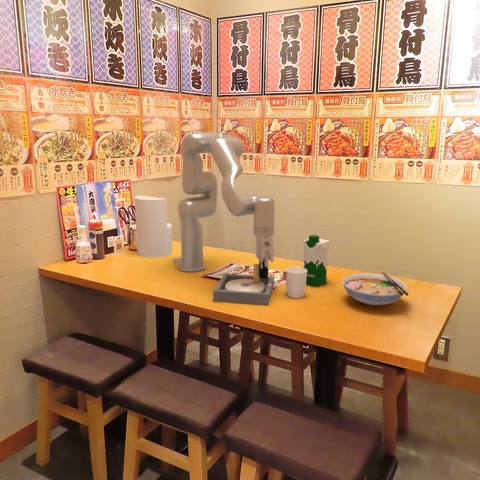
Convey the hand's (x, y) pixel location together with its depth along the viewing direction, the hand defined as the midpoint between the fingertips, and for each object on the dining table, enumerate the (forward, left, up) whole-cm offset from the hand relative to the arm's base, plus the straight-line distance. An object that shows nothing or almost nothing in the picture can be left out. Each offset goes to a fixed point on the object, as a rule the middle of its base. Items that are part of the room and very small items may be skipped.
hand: (263, 278), depth 172 cm
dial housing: (-7, -2, -6) cm, 9 cm away
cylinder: (-60, +46, -6) cm, 76 cm away
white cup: (+12, 0, -6) cm, 14 cm away
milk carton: (+19, +15, -6) cm, 25 cm away
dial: (-7, -2, -5) cm, 8 cm away
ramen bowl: (+40, -2, -6) cm, 41 cm away
